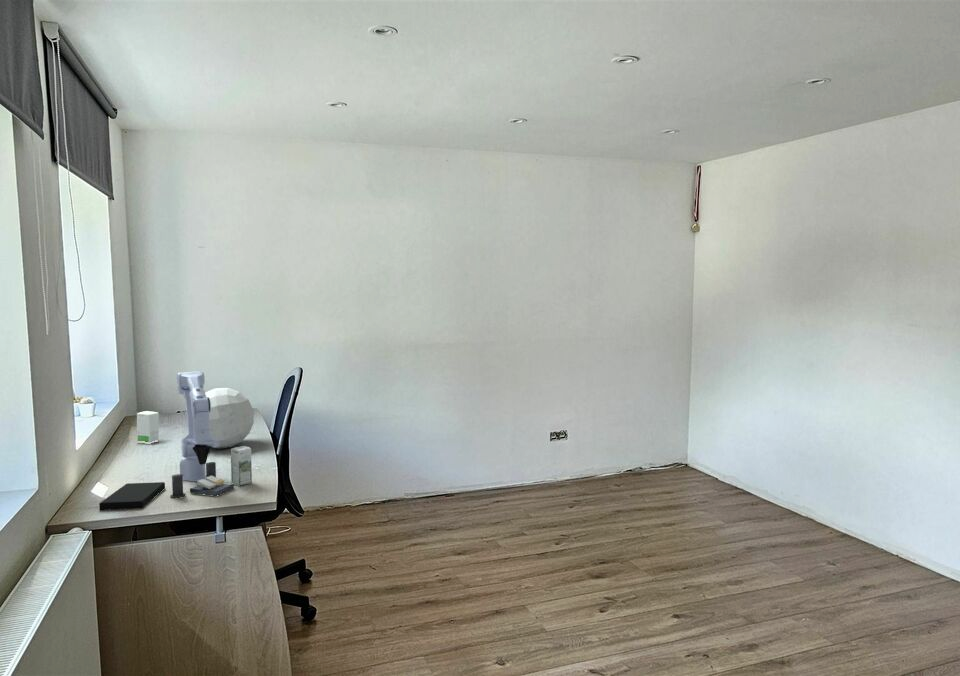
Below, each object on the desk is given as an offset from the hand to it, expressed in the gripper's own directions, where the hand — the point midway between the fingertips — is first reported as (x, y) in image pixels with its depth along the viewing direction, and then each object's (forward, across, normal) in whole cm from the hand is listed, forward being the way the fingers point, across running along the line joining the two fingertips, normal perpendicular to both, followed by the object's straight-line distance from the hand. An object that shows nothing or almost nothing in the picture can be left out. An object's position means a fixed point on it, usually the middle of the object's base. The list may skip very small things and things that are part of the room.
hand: (202, 463), depth 251 cm
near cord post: (+10, -4, -9) cm, 14 cm away
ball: (+11, -40, +60) cm, 73 cm away
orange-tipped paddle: (+7, +4, +2) cm, 8 cm away
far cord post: (+10, -4, +9) cm, 14 cm away
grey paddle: (+7, +4, -2) cm, 8 cm away
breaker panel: (+10, +4, 0) cm, 11 cm away
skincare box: (+11, -82, +56) cm, 100 cm away
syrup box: (+11, +8, +12) cm, 18 cm away
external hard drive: (+11, -18, -16) cm, 26 cm away
